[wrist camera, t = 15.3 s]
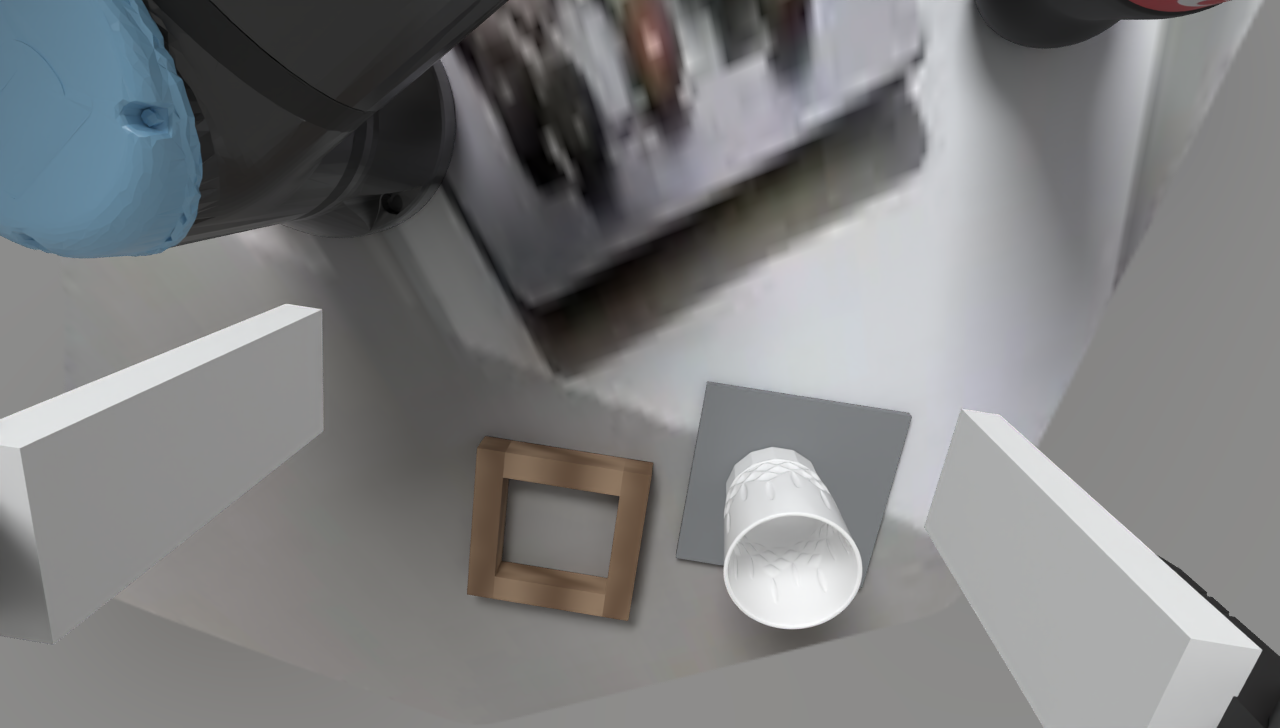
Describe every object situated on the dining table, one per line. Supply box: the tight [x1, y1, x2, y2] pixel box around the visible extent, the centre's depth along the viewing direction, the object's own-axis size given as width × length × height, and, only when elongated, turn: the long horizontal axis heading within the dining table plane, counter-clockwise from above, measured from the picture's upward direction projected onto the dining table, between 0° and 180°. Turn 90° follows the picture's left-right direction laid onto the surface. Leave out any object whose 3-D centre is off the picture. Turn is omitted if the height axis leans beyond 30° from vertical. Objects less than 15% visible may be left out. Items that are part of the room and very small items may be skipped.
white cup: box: [724, 447, 862, 629], centre depth 44 cm, size 8×8×10 cm
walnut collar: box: [467, 436, 653, 621], centre depth 51 cm, size 12×12×2 cm
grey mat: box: [676, 382, 912, 588], centre depth 49 cm, size 14×14×1 cm
